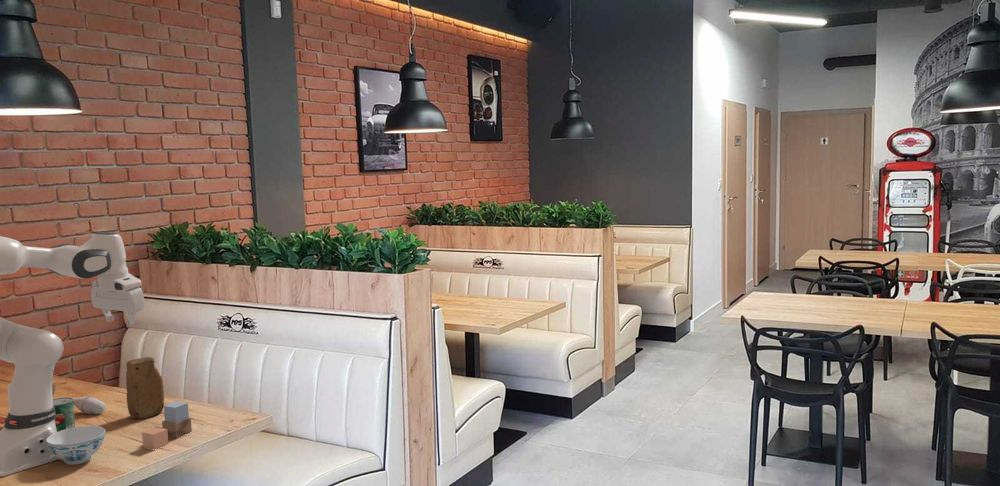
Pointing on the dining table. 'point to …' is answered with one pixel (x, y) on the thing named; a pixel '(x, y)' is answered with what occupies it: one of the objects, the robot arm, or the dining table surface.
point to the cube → (155, 438)
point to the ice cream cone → (89, 405)
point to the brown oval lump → (144, 388)
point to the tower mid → (176, 412)
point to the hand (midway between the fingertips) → (120, 322)
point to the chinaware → (76, 443)
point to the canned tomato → (64, 413)
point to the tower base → (177, 428)
